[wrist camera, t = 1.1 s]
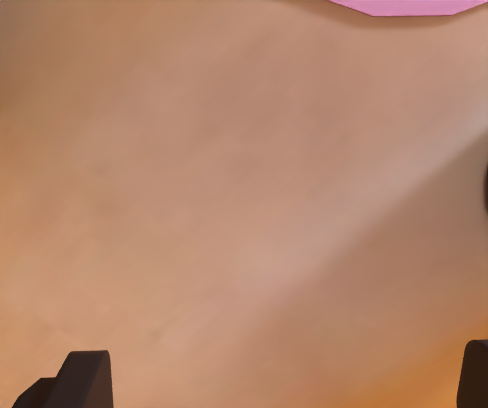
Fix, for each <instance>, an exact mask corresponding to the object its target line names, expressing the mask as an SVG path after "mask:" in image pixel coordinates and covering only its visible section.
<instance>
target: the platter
mask: <svg viewBox="0 0 488 408" xmlns="http://www.w3.org/2000/svg"><path fill="white" fill-rule="evenodd" d="M328 1H331V2H334V3H337V4H339V5H342V6H345V7H348V8H351V9H354V10H356V11H359V12H362V13H365V14H368V15H370V16H437V15H453V14H456V13H459V12H461V11H464V10H467V9H470V8H472V7H475V6H478V5H480V4H483V3H486V2H488V0H328Z"/></svg>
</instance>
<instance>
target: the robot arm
mask: <svg viewBox="0 0 488 408" xmlns="http://www.w3.org/2000/svg"><path fill="white" fill-rule="evenodd" d="M12 408H114V407H113V393H112V378H111V363H110V355H109V352H108V351H107V350H102V351H72V352H70V353H69V354H68V356H67V358H66V359H65V361H64V363H63V365H62V367H61V369H60V370H59V372H58V374H57V376H56V377H54V378H40V379H39V380H38V381H37V382H35V383H34V384H33V385H32V386H31V387H29V388H28V389H27V390H26V391H25V392H23V393H22V394H21V395H20V396H19V397H18V398H17V400H16V402H15V403H14V405H13V406H12ZM457 408H488V339H487V340H471V341H469V342H468V343H467V345H466V347H465V351H464V357H463V363H462V369H461V375H460V381H459V387H458V393H457Z"/></svg>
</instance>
